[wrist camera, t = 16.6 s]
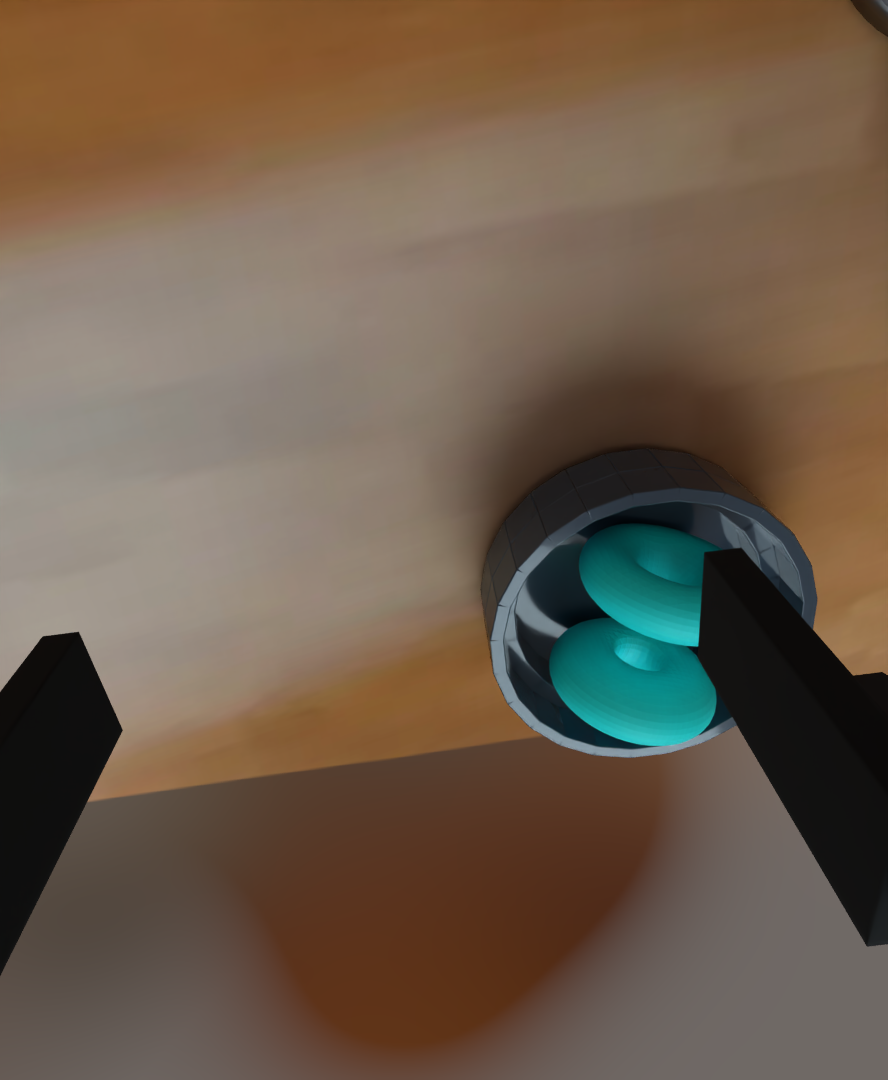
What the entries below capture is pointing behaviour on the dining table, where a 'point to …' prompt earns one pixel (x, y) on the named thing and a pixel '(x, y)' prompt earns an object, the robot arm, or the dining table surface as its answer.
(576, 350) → the dining table surface
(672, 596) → the donuts
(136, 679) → the dining table surface
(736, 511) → the bowl
